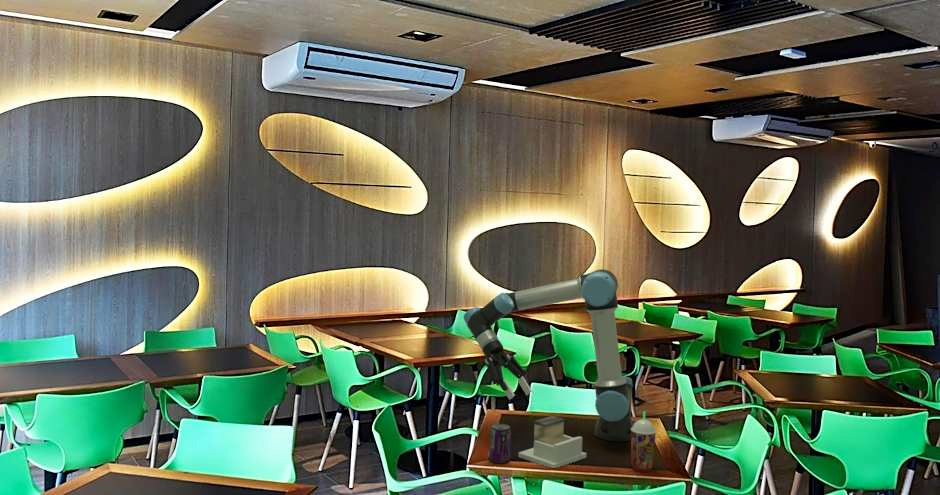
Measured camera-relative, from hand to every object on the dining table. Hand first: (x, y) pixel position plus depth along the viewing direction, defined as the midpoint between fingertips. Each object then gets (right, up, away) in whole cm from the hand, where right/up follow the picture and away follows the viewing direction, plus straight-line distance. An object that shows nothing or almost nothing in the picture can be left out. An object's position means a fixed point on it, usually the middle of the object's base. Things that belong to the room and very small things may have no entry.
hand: (520, 395), depth 288 cm
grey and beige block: (+9, -18, -8) cm, 22 cm away
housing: (+11, -20, -10) cm, 24 cm away
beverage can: (-8, -20, -15) cm, 26 cm away
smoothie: (+40, -22, -19) cm, 49 cm away
